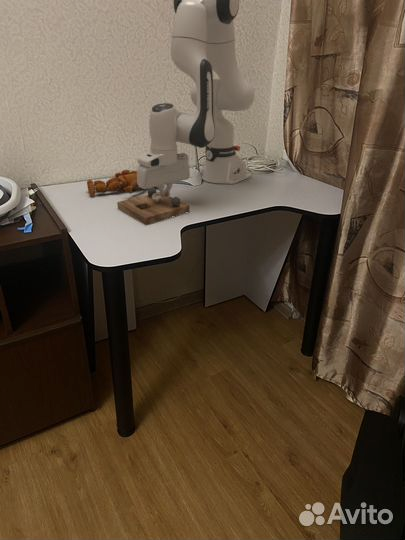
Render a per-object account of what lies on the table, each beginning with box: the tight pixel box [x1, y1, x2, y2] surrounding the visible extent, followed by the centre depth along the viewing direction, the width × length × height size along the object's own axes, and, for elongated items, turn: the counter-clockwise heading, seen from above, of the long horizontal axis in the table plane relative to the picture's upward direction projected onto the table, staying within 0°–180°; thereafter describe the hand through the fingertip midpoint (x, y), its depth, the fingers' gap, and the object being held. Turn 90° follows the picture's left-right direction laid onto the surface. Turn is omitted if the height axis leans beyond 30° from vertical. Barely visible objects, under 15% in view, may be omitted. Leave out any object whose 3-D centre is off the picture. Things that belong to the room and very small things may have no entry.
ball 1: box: [147, 187, 157, 196], centre depth 143 cm, size 3×3×3 cm
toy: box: [86, 169, 155, 199], centre depth 155 cm, size 20×7×30 cm
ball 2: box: [171, 196, 182, 206], centre depth 135 cm, size 3×3×3 cm
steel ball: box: [152, 193, 162, 203], centre depth 137 cm, size 4×4×4 cm
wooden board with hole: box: [116, 191, 190, 226], centre depth 138 cm, size 18×18×2 cm
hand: (165, 195), depth 139 cm, fingers closed
